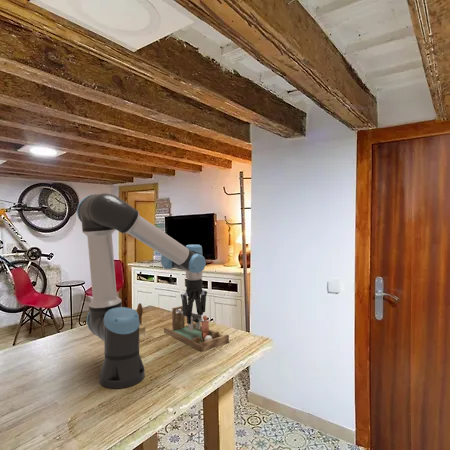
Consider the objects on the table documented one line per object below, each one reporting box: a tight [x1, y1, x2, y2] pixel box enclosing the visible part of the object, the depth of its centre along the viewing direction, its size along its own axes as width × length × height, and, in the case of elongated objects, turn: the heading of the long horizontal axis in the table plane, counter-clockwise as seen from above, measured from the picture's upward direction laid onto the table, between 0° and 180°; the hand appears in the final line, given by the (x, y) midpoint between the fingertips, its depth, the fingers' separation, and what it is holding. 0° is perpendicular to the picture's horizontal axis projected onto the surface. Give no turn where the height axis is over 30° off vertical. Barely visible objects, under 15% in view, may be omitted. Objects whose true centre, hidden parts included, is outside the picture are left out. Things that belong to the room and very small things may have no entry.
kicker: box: [176, 309, 210, 342], centre depth 156 cm, size 3×27×11 cm, turn 40°
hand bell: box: [136, 303, 150, 342], centre depth 155 cm, size 8×8×16 cm
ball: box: [204, 335, 212, 341], centre depth 145 cm, size 4×4×4 cm
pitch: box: [163, 305, 230, 352], centre depth 153 cm, size 15×30×12 cm, turn 40°
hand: (194, 329), depth 153 cm, fingers closed on kicker, 3 cm apart
